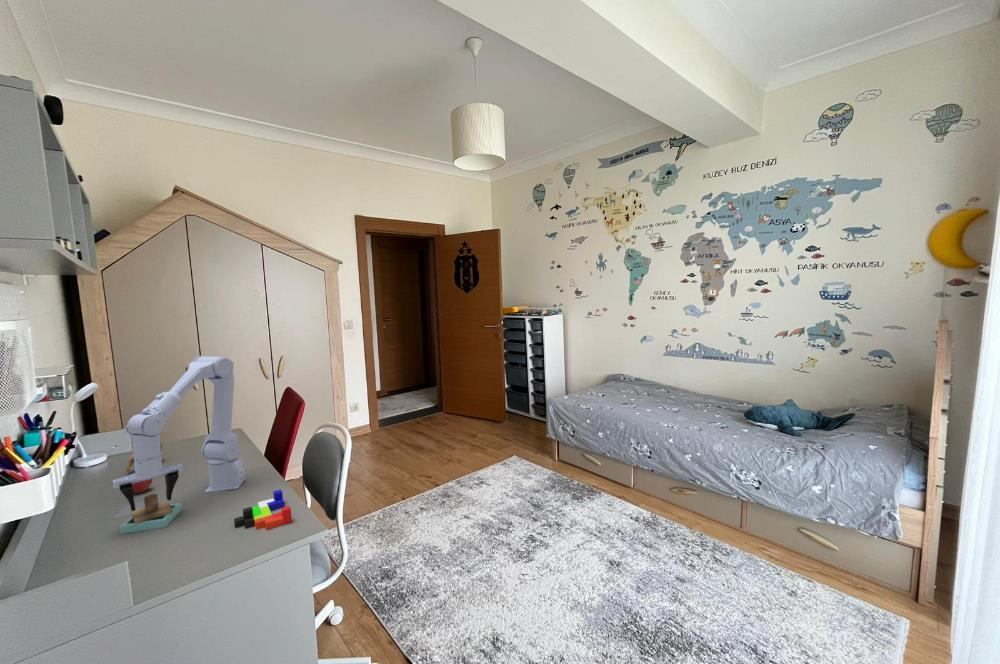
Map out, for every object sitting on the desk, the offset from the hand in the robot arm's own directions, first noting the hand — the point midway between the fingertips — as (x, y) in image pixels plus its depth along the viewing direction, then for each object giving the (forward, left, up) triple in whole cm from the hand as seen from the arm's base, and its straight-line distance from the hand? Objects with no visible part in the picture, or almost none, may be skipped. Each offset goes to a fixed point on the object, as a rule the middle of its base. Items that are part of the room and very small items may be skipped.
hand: (151, 504), depth 114 cm
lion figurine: (+23, -48, -6) cm, 53 cm away
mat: (+7, -10, -5) cm, 13 cm away
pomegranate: (+13, -23, -6) cm, 27 cm away
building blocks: (-29, +7, -6) cm, 30 cm away
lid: (0, 0, -3) cm, 3 cm away
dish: (0, 0, -5) cm, 5 cm away
